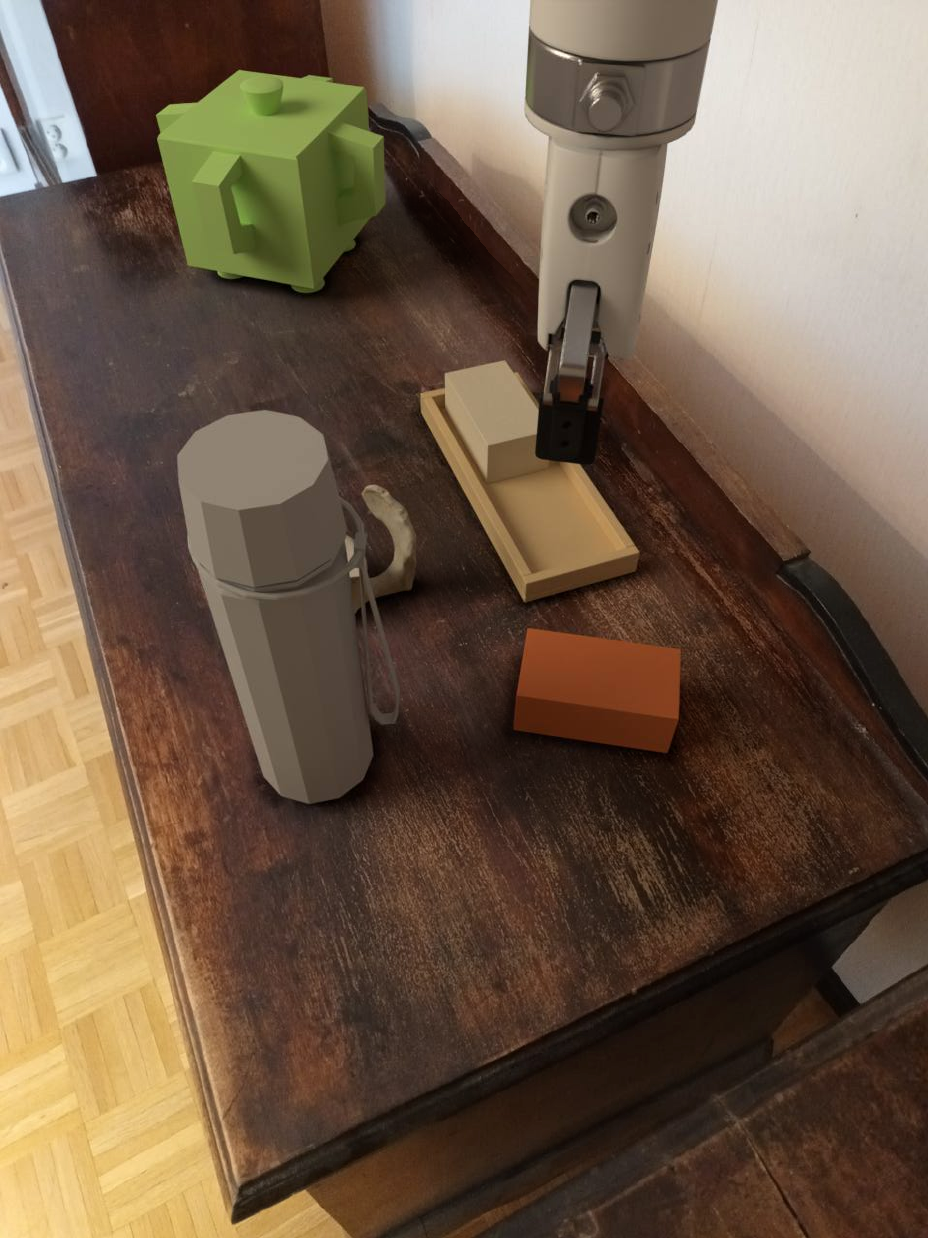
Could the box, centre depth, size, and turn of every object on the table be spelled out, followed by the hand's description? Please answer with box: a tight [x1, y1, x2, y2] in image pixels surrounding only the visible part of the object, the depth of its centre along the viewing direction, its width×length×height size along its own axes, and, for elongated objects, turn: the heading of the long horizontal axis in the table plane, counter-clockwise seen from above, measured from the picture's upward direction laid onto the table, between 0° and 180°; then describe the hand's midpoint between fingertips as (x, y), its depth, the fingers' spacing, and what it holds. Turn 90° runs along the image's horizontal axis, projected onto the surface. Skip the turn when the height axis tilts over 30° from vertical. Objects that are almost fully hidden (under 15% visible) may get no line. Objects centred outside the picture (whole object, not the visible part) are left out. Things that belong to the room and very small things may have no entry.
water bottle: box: [176, 409, 401, 805], centre depth 49 cm, size 9×8×25 cm
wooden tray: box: [419, 371, 640, 603], centre depth 74 cm, size 24×9×2 cm, turn 20°
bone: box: [345, 484, 417, 614], centre depth 65 cm, size 9×6×10 cm
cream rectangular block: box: [444, 359, 549, 484], centre depth 77 cm, size 10×6×4 cm, turn 20°
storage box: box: [155, 69, 387, 294], centre depth 91 cm, size 25×23×17 cm
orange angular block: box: [513, 627, 682, 754], centre depth 60 cm, size 10×6×4 cm, turn 80°
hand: (574, 403), depth 53 cm, fingers open, 9 cm apart
